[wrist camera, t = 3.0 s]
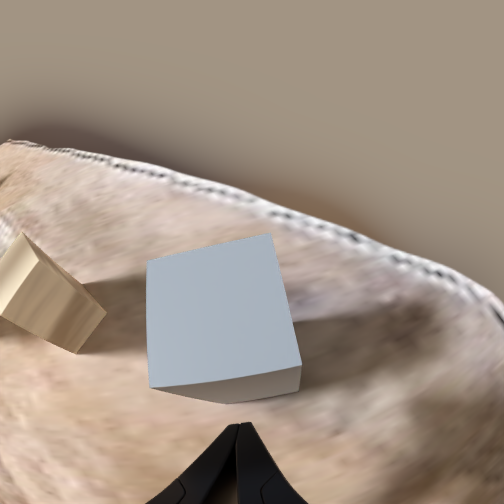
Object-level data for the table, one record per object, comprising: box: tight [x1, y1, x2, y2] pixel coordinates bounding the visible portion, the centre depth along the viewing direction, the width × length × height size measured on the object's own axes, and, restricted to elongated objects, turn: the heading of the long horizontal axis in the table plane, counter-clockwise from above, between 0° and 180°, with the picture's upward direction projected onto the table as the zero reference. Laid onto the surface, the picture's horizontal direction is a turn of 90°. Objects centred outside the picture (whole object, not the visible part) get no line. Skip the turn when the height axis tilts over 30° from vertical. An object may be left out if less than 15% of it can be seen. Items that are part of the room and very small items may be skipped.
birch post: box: [0, 232, 107, 354], centre depth 19 cm, size 5×5×9 cm
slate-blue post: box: [146, 233, 302, 404], centre depth 14 cm, size 5×5×11 cm
